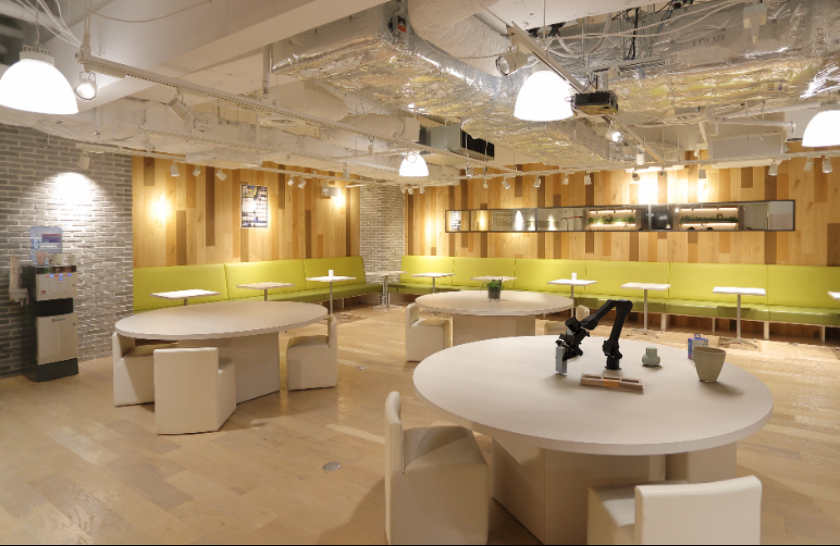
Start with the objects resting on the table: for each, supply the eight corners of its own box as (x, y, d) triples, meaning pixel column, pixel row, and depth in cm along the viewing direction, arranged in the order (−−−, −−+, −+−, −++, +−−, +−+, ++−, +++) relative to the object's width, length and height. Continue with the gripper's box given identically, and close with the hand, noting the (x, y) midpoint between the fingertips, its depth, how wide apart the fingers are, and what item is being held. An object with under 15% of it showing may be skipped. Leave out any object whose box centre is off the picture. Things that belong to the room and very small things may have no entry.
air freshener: (656, 368, 273) (657, 350, 272) (640, 365, 278) (641, 348, 277) (660, 364, 281) (661, 346, 281) (645, 361, 286) (646, 344, 286)
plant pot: (721, 386, 240) (722, 354, 238) (687, 380, 250) (689, 350, 248) (727, 379, 251) (729, 349, 249) (695, 374, 261) (696, 344, 259)
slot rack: (582, 380, 252) (582, 372, 252) (641, 386, 241) (642, 378, 241) (580, 385, 243) (580, 378, 242) (642, 392, 232) (642, 384, 232)
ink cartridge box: (703, 357, 295) (704, 333, 294) (708, 360, 289) (709, 335, 288) (686, 357, 295) (687, 333, 294) (691, 360, 289) (692, 335, 288)
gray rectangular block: (560, 370, 266) (560, 346, 265) (566, 373, 261) (567, 349, 260) (555, 370, 266) (555, 347, 264) (561, 373, 260) (562, 349, 259)
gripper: (558, 324, 271) (540, 346, 269) (578, 331, 253) (559, 354, 251) (570, 337, 274) (552, 358, 272) (591, 345, 256) (572, 367, 254)
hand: (559, 359), depth 262 cm, fingers closed on gray rectangular block, 6 cm apart
